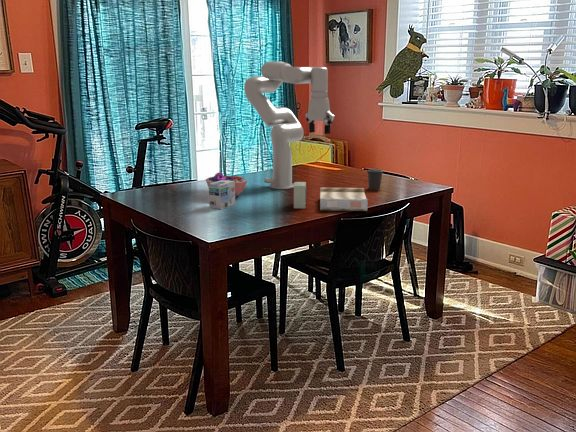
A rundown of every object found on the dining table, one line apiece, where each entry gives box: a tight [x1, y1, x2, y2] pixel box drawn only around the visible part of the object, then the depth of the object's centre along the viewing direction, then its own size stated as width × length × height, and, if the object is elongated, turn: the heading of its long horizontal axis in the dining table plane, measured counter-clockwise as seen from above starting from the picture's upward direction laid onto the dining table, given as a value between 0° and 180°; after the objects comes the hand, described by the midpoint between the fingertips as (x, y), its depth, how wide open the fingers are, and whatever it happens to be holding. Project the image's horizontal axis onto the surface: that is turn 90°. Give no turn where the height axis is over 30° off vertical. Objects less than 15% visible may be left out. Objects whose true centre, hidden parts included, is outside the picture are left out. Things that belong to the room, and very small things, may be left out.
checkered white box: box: [319, 187, 369, 212], centre depth 255 cm, size 20×22×6 cm
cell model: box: [205, 171, 248, 197], centre depth 270 cm, size 17×20×11 cm
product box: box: [293, 181, 307, 209], centre depth 253 cm, size 5×8×10 cm, turn 177°
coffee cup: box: [366, 168, 384, 191], centre depth 286 cm, size 8×8×10 cm
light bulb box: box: [208, 180, 236, 210], centre depth 253 cm, size 11×7×11 cm, turn 148°
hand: (319, 133), depth 266 cm, fingers open, 9 cm apart
